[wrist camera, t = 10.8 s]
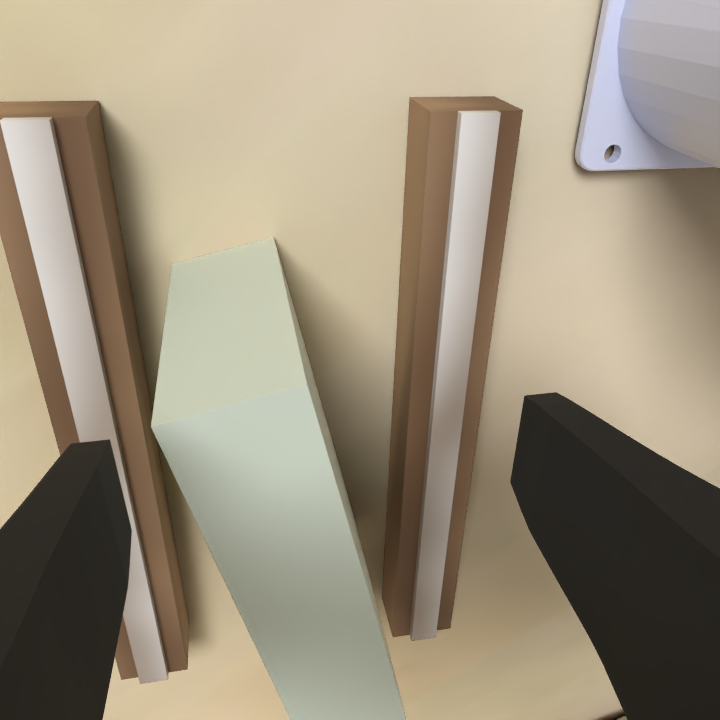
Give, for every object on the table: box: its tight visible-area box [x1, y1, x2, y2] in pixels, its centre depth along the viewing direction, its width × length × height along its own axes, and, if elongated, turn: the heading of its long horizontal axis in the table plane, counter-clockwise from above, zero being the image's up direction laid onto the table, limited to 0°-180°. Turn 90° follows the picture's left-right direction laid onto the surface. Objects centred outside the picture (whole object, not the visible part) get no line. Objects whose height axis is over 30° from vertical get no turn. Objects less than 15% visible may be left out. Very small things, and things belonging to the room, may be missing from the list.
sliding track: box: [0, 97, 523, 684], centre depth 21 cm, size 13×20×2 cm, turn 178°
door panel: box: [151, 237, 406, 720], centre depth 19 cm, size 3×12×8 cm, turn 11°
